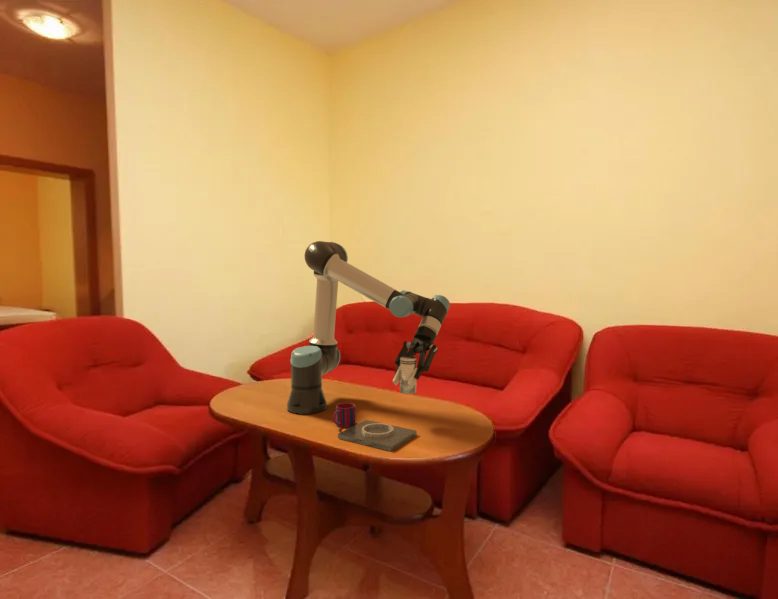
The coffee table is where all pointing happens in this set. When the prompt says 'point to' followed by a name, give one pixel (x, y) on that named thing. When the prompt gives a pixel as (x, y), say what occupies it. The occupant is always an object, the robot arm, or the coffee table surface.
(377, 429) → the grey base plate
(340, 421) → the mug
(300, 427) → the coffee table surface
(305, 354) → the robot arm
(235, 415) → the coffee table surface
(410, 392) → the disc
